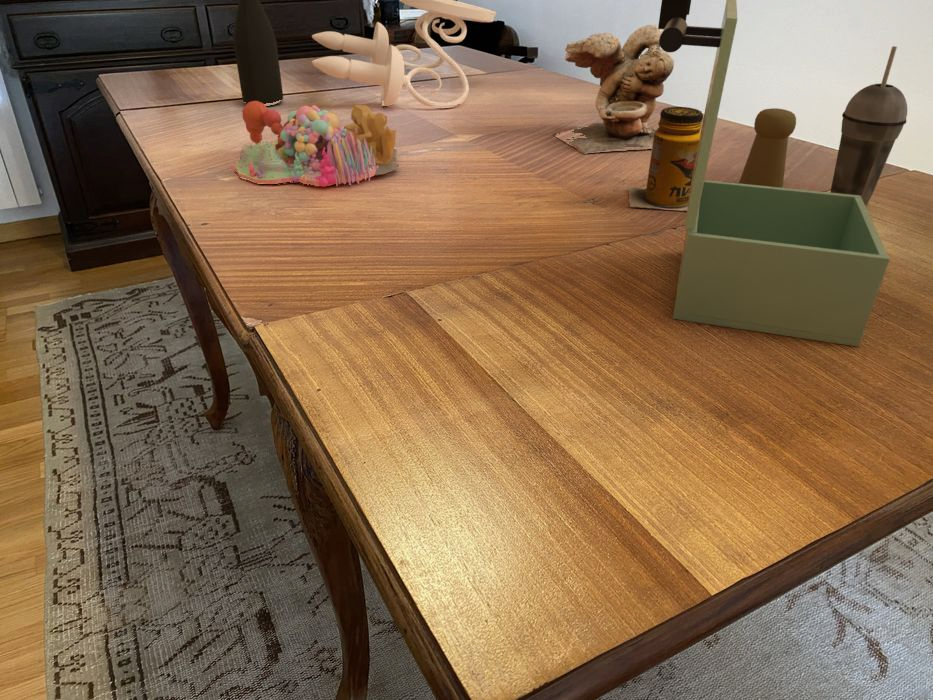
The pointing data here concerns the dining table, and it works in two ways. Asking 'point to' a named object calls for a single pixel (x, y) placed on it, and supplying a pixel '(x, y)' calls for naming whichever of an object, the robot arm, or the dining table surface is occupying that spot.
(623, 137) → the cherub figurine
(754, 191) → the bin
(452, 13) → the candelabra
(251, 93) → the wine bottle
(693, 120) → the condiment
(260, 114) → the pastel sphere sculpture
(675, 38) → the bin lid
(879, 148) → the beverage cup
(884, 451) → the dining table surface
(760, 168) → the brown knobbed peg
